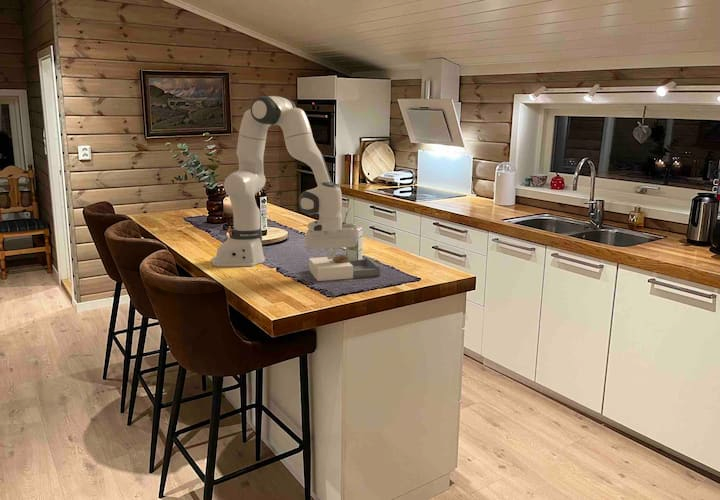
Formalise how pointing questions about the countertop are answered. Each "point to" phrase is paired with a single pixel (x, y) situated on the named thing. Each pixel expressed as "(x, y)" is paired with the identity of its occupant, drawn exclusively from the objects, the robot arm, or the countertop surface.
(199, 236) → the countertop surface
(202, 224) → the countertop surface
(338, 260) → the walnut tile
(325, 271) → the cream square block
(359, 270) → the charcoal box
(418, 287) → the countertop surface
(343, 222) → the mate gourd
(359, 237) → the syrup box
